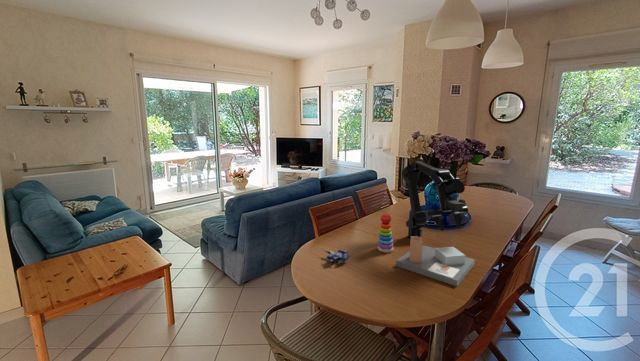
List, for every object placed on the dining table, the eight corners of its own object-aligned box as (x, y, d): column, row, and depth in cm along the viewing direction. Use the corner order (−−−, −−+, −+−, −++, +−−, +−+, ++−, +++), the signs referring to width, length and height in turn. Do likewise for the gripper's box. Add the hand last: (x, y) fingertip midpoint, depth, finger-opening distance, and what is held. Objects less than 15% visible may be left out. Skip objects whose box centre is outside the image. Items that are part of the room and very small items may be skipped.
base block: (434, 256, 138) (435, 248, 137) (452, 254, 139) (453, 246, 138) (445, 265, 129) (446, 256, 128) (464, 263, 131) (465, 255, 130)
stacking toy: (394, 247, 153) (395, 212, 150) (392, 254, 146) (394, 217, 142) (378, 245, 156) (379, 211, 152) (376, 252, 149) (377, 215, 145)
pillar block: (409, 256, 138) (410, 234, 136) (421, 257, 136) (422, 235, 134) (409, 261, 133) (410, 238, 131) (421, 262, 132) (423, 239, 130)
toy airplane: (320, 254, 146) (320, 247, 146) (348, 254, 147) (348, 247, 146) (320, 267, 134) (320, 259, 133) (352, 266, 134) (352, 259, 133)
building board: (395, 265, 134) (396, 260, 134) (418, 248, 152) (418, 243, 151) (456, 286, 117) (457, 280, 117) (474, 264, 135) (474, 258, 135)
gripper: (439, 195, 131) (446, 231, 129) (474, 192, 137) (480, 226, 134) (424, 198, 141) (429, 232, 139) (456, 195, 147) (462, 227, 145)
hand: (450, 229), depth 139 cm, fingers open, 9 cm apart
